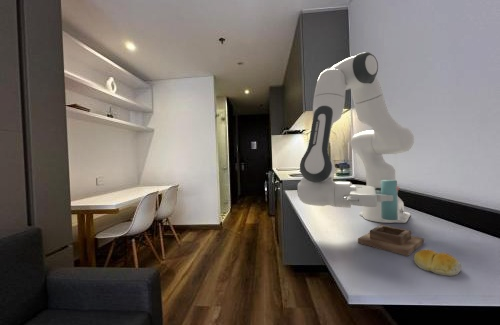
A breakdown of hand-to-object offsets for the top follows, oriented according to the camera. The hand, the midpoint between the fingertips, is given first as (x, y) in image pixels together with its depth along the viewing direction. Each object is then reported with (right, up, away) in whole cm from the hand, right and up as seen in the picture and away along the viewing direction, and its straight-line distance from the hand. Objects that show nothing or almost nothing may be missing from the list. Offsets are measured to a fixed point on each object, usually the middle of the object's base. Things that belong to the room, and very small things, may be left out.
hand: (392, 196), depth 74 cm
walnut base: (0, -15, +1) cm, 15 cm away
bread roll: (+2, -16, -16) cm, 22 cm away
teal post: (-1, -7, 0) cm, 7 cm away
